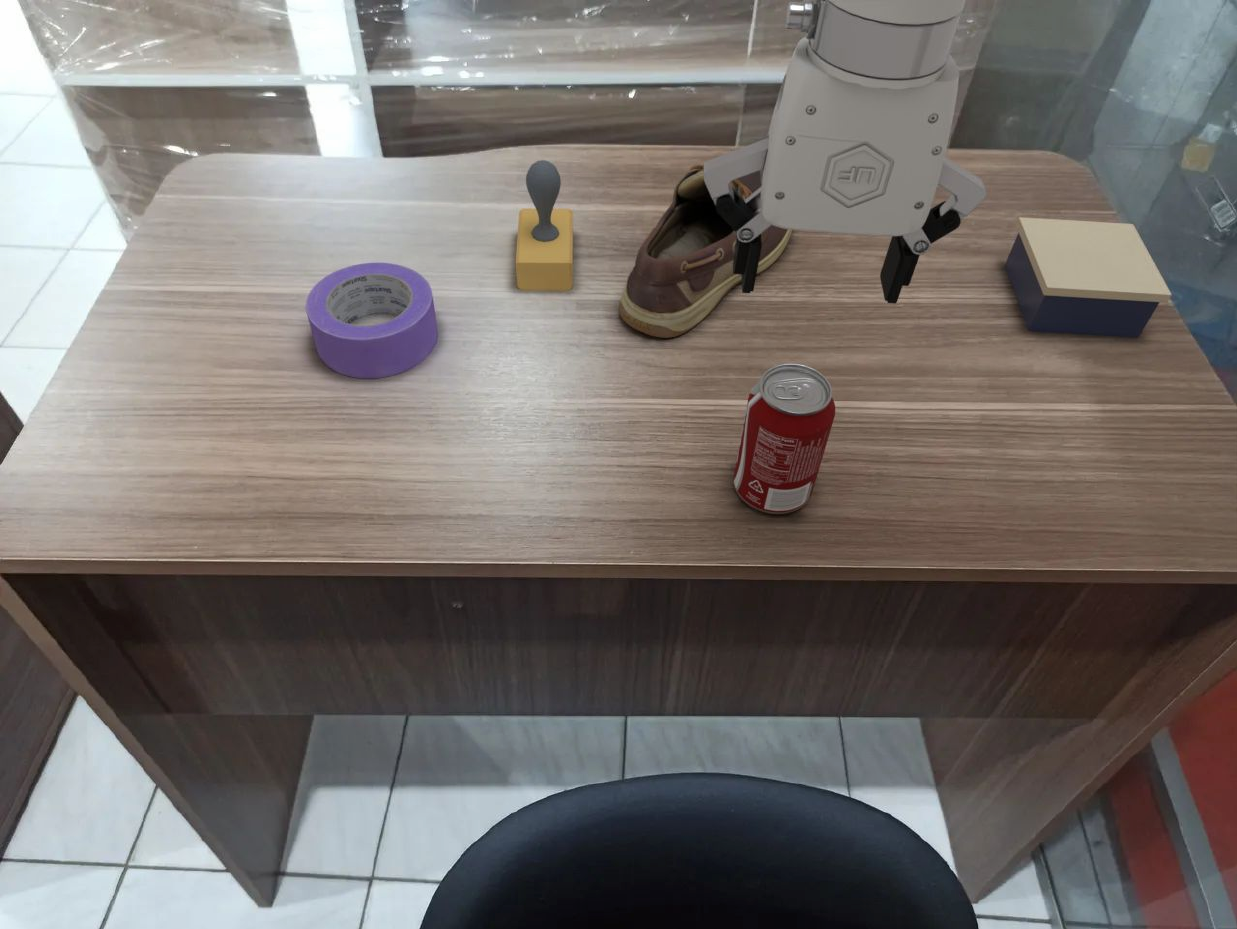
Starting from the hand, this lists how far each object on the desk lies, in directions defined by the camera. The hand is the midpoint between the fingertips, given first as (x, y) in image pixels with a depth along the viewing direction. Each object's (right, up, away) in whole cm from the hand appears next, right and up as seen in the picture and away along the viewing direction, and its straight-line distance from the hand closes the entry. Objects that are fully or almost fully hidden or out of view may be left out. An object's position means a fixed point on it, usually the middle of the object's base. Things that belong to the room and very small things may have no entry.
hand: (816, 285), depth 62 cm
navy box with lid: (+34, +5, +34) cm, 49 cm away
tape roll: (-37, 0, +28) cm, 46 cm away
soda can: (0, -14, +16) cm, 22 cm away
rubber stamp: (-21, +10, +37) cm, 43 cm away
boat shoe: (-3, +10, +37) cm, 39 cm away
